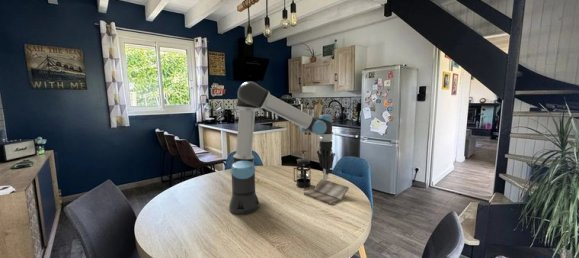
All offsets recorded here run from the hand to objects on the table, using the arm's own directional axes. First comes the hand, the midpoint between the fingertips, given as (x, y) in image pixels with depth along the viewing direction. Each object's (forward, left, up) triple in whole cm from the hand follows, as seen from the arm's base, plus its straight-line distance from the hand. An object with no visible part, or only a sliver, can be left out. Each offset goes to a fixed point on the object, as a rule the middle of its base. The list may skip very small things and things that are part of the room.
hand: (325, 178), depth 148 cm
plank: (+6, -2, -4) cm, 8 cm away
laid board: (+6, -11, -7) cm, 14 cm away
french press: (-16, -4, -7) cm, 18 cm away
